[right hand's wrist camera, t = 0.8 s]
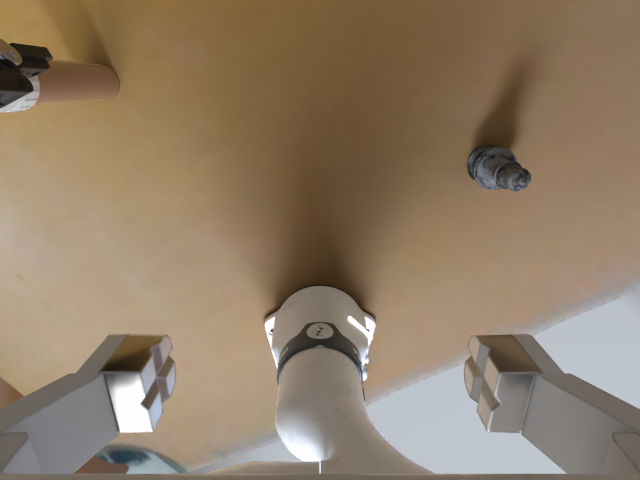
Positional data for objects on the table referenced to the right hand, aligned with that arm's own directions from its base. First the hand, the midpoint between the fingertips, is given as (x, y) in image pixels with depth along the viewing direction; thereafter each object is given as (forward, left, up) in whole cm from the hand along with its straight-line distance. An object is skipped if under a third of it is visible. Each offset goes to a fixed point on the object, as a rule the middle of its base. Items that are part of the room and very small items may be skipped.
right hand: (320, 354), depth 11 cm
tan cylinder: (+7, +29, -48) cm, 57 cm away
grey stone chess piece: (-4, -24, -48) cm, 54 cm away
